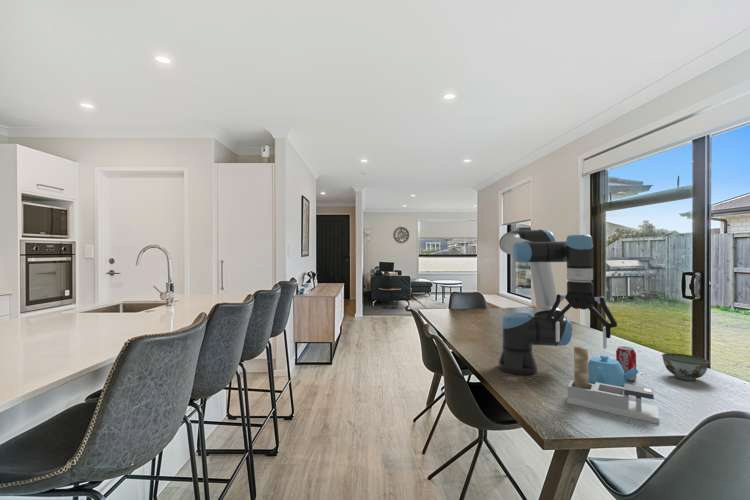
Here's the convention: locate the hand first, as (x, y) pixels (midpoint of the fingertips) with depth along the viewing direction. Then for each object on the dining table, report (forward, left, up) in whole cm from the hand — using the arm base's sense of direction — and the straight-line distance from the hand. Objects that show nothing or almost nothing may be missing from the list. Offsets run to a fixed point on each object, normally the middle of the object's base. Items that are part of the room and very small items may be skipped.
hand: (580, 344), depth 114 cm
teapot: (+5, +18, -19) cm, 26 cm away
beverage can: (+11, +33, -19) cm, 39 cm away
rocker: (+15, 0, -12) cm, 19 cm away
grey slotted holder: (+8, 0, -18) cm, 20 cm away
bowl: (+29, +47, -19) cm, 58 cm away
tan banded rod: (0, 0, -17) cm, 17 cm away
